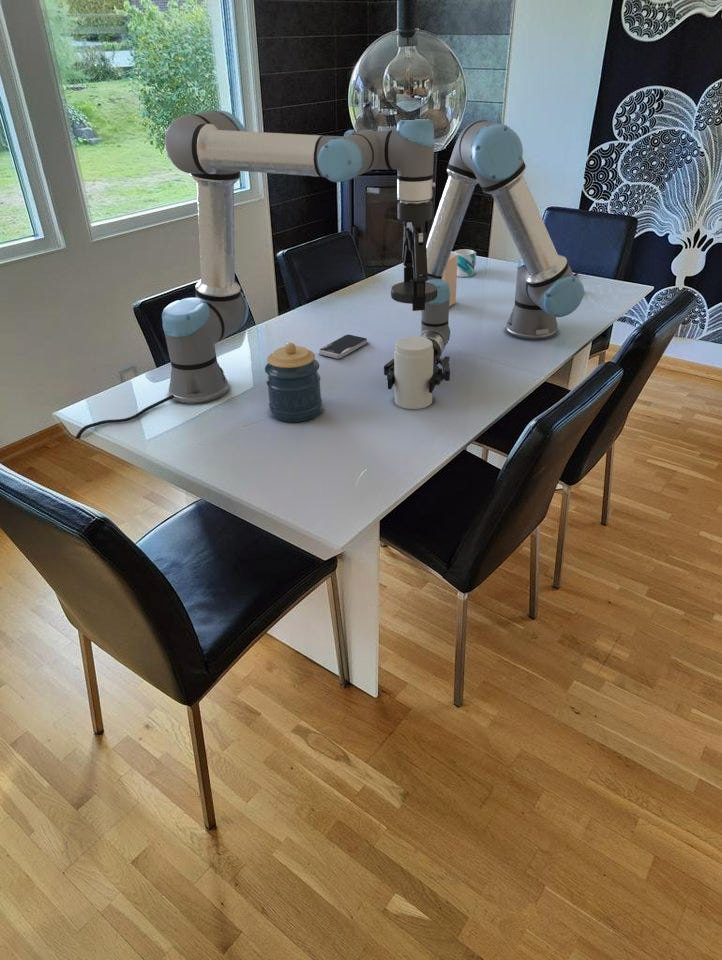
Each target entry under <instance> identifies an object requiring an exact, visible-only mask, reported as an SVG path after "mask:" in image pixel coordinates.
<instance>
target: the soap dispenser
mask: <svg viewBox="0 0 722 960" xmlns="http://www.w3.org/2000/svg"><path fill="white" fill-rule="evenodd" d="M457 258H458V255H456V254H454V253H451V254H450V257H449V260H448V262H447V265H446V268H445V271H444V273H443V277H442V280H443V281H447V282H448V283H449V289H450V299H449V308H451V306H453V305H454V304H456V302H457V301H456V300H457V282H458V281H457V280H458V279H457V277H458V276H457Z"/></svg>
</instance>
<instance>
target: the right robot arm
mask: <svg viewBox="0 0 722 960" xmlns="http://www.w3.org/2000/svg"><path fill="white" fill-rule="evenodd" d="M523 157H524V148H523V143H522V140H521V138H520V137H519V135H518V134H517V133H516V131H514V129H512V128H511V127H510V126H508V125H506V124H503V123H501V122H500V123H499V122H492V121H490V120H486V119H481V120H480V119H478V120H475V121H472V122H471V123H469V124H467V125H466V126H465V127H464V128H463V129H462V131H461V132H460V134H459V135H458V136H457V139H456V142H455V144H454V147H453V150H452V152H451V156H450V159H449V161H448V165H447V167H446V173H447V180H446V182H445V186H444V189H443V192H442V195H441V198H440V200H439V204H438V207H437V209H436V212H435V214H434V215H435V216H434V219H433V222H432V225H431V228H430V231H429V233H428V235H427V239H426V248H427V273H428V281H426V282H429V283H432V284H434V285H436V286H437V297H436V299H434V300H432V301H430V302H426V303H425V310H420V312H421V313H420V314H421V319H420V320H421V321H420V322H421V324H420V336H419V337H423V338H427V339H429V340H431V341H432V343H433V350H434V356H433V375H432V377H431V380H430V382H429V393H432V392H434V390H435V388H436V386H440V385H441V383H442V381H443V380H444V381H445V382H449V381H450V380H451V370H450V356H444V357H442V354H443V352H444V350H445V348H446V346H447V345H448V343H449V341H450V338H451V337H450V336H451V328H450V326H449V325H450V324H449V317H450V307H449V299H450V289H449V283H448V282H447V281H443V280H442V277H443V273H444V271H445V268H446V265H447V262H448V260H449V257H450V254H452V251H453V249H454V245H455V243H456V240H457V237H458V235H459V233H460V232H459V231H460V229H461V226H462V223H463V220H464V218H465V215H466V213H467V209H468V207H469V204H470V201H471V199H472V196H473V193H474V190H475V187H476V185H478V184H479V186H480V188H481V190H482V192H483V193H484V194H488V195H491V196H492V198H493V200H494V203H495V204H496V207H497V210H498V211H499V213H500V215H501V217H502V219H503V221H504V223H505V226H506V228H507V230H508V232H509V234H510V237H511V238H512V240H513V242H514V244H515V246H516V249H517V251H518V253H519V255H520V258H519V259H518V263H517V267H516V269H517V270H516V271H517V272H516V284H515V296H514V305H513V308H512V311H511V313H510V315H509V318H508V320H507V321H506V328H505V331H506V333H507V334H508V335H510V336H511V337H514V338H518V339H522V340H528V341H529V340H530V341H538V340H546V339H547V340H548V339H551V338H553V337H555V336H556V335H557V334H558V328H559V327H558V320H557V318H563V317H567V316H569V315H570V314H572V313H573V312H575V311H576V310H577V309H578V308H579V306H580V305H581V303H582V301H583V299H584V296H585V288H584V287H585V286H584V285H583V283H582V281H581V279H580V278H578V277H577V275H579V272H575V273H574V272H573V271H572V269H571V266H570V263H569V262H568V259H567V257H566V256H564V255H561V254H558V252H557V250H556V247H555V244H554V243H553V240H552V238H551V236H550V233H549V231H548V229H547V227H546V225H545V222H544V220H543V218H542V215H541V212H540V211H539V208H538V207H537V204H536V202H535V199H534V197H533V195H532V193H531V191H530V189H529V186H528V183H527V182H526V179H525V177H524V174H525V171H526V169H527V165H526V163H525V160H524V158H523ZM419 276H422V275H419ZM439 365H440V366H441V367H439ZM383 376H386V381H387V390H392V388H393V386H395V381H394V358H392V359H390V360H389V361H388V362H387V363H385V364H384V365H383Z"/></svg>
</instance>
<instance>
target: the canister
mask: <svg viewBox="0 0 722 960" xmlns="http://www.w3.org/2000/svg"><path fill="white" fill-rule="evenodd" d="M266 360H267V364H265V367H264V372H265V373H266V375H267V378H266V382H265V383H266V385H267V393H268V400H269V402H268V406H269V410H270V413H271V415H272V417H273V418H275V419H276V420H279V421H282V422H288V423H289V422H290V423H296V422H297V423H298V422H304V421H308V420H311V419H313V418H315V417H317V416H318V415H319V414H320V413H321V411H322V408H323V399H322V392H321V376H320V374H319V372H318V370H319V369H320V363H319V361H318V360H317V359H316V354H315V352H313V351H312V350H309V349H308V348H306V347H304V346H299V345H296V344H294V343H293V342H287V343H286V344H285V346H283V347H279V348H277V349H275V350H274V351H273V352H272V353H270V354H269V355H268V356H267V359H266Z"/></svg>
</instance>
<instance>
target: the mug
mask: <svg viewBox="0 0 722 960" xmlns="http://www.w3.org/2000/svg"><path fill="white" fill-rule="evenodd" d="M453 254H456V255H458V258H457V277H460V278H465V277H466V278H467V277H472V276H474V274H475V266H476V264H477V251H475V250H473V249H467V248H464V249H457V250H454V252H453Z"/></svg>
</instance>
